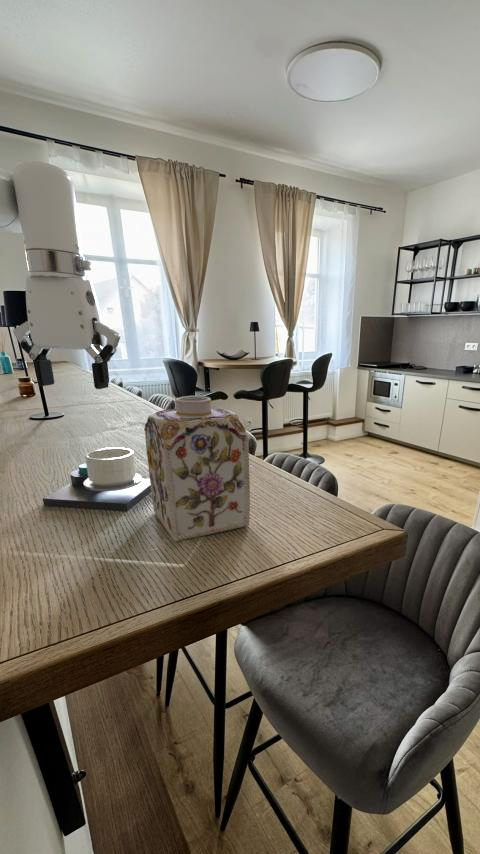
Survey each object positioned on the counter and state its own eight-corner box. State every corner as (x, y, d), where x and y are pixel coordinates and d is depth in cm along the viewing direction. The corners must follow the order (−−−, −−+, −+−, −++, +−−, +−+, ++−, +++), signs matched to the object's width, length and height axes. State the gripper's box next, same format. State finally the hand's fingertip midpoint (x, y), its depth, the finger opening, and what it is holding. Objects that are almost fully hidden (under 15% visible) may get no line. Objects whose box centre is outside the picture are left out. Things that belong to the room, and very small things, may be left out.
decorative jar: (222, 500, 69) (218, 390, 63) (252, 526, 60) (251, 401, 53) (150, 513, 64) (137, 394, 57) (171, 544, 54) (158, 407, 48)
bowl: (80, 485, 65) (75, 458, 63) (104, 472, 72) (100, 446, 70) (123, 488, 64) (120, 460, 63) (143, 474, 71) (140, 448, 69)
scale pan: (72, 489, 64) (71, 487, 64) (102, 472, 73) (101, 470, 73) (126, 493, 63) (126, 490, 63) (150, 475, 72) (150, 473, 72)
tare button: (76, 475, 72) (74, 467, 71) (85, 470, 75) (84, 462, 74) (92, 476, 72) (91, 468, 71) (101, 471, 74) (100, 463, 74)
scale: (41, 506, 66) (37, 488, 65) (85, 481, 77) (82, 466, 76) (127, 512, 64) (125, 494, 63) (158, 485, 76) (157, 470, 74)
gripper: (124, 273, 64) (134, 386, 70) (21, 271, 66) (40, 381, 72) (97, 265, 57) (112, 392, 63) (-17, 263, 59) (9, 386, 65)
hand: (74, 386), depth 68 cm, fingers open, 9 cm apart
